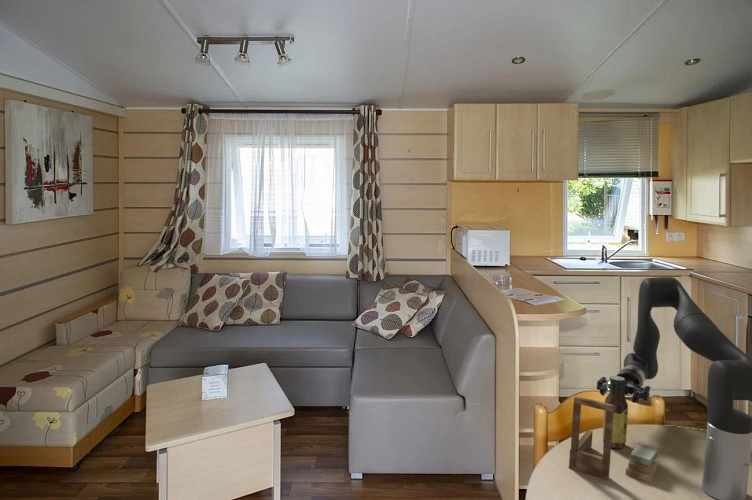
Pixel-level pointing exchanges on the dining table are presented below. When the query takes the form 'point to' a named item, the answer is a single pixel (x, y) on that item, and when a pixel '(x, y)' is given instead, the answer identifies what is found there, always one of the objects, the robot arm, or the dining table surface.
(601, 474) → the walnut rack
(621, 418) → the sauce bottle
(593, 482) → the dining table surface
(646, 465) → the offcut stack
